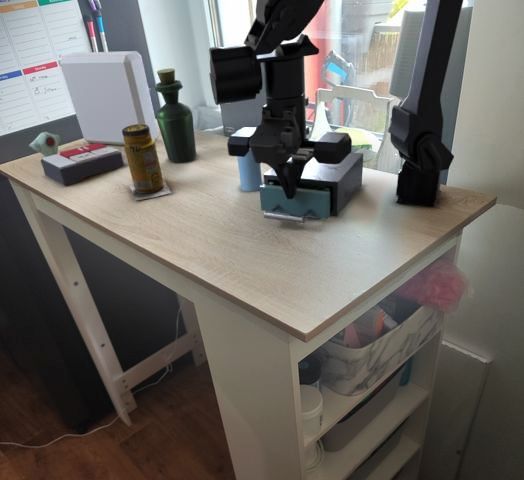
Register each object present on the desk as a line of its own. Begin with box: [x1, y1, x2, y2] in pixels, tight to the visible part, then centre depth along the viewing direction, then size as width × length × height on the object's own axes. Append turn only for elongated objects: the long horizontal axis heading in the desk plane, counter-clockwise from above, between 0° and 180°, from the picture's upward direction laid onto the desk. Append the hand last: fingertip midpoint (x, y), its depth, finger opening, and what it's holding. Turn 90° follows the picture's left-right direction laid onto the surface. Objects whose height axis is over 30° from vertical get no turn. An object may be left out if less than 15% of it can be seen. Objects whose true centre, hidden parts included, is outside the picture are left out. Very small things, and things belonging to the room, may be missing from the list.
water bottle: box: [236, 148, 263, 192], centre depth 91 cm, size 4×4×10 cm
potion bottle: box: [155, 68, 197, 164], centre depth 105 cm, size 8×8×18 cm
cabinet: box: [263, 151, 364, 218], centre depth 86 cm, size 14×14×6 cm
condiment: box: [122, 124, 172, 201], centre depth 93 cm, size 7×8×12 cm
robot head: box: [28, 131, 61, 158], centre depth 115 cm, size 8×4×7 cm, turn 142°
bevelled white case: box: [59, 50, 160, 146], centre depth 118 cm, size 21×8×20 cm, turn 66°
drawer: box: [258, 180, 333, 224], centre depth 82 cm, size 17×12×4 cm
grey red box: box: [40, 143, 125, 186], centre depth 108 cm, size 11×4×15 cm
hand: (290, 198), depth 78 cm, fingers closed, pressing on drawer
